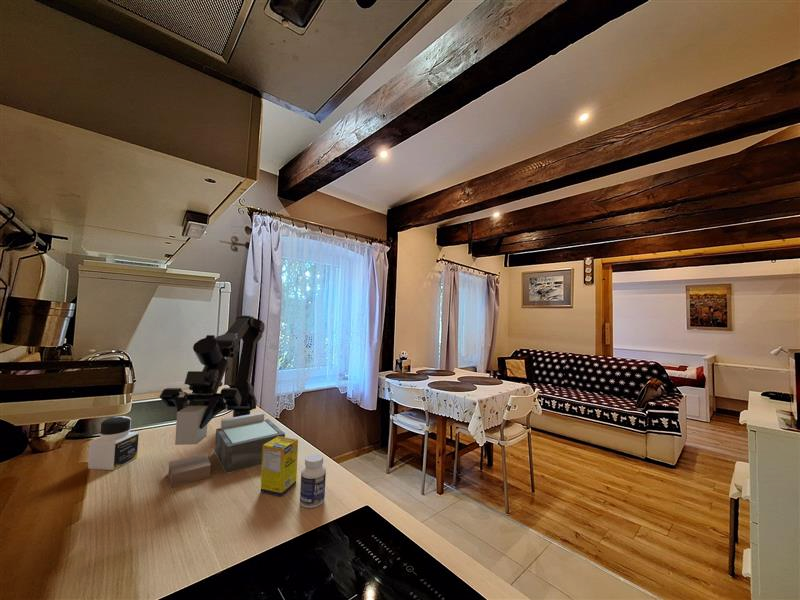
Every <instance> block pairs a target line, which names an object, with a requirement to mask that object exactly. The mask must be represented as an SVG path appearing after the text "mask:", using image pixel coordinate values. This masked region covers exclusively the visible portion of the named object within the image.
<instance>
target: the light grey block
mask: <svg viewBox="0 0 800 600" xmlns="http://www.w3.org/2000/svg"><path fill="white" fill-rule="evenodd" d="M207 408H208V405H189V406H187V407H185V408H184V409H182V410H180V411H178V412H177V411H176V421H175V422H176V423H175V425H176V426H175V427H176V428H175V439H174V445H175V446H176V445H177V446H179V445H180V446H183V445H184V446H185V445H186V446H187V445H189V446H191V445H198V444H199V443H200V442H202V441H203V440H204V439H205V438H206V437H208V436H207V434H208V424H207V425H206V426H205V427H204V428H203V429H200V424H201V421H202V418H203V416H204V414H205V412H206V410H207Z"/></svg>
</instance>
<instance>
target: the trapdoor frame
mask: <svg viewBox="0 0 800 600" xmlns="http://www.w3.org/2000/svg"><path fill="white" fill-rule="evenodd" d="M264 421H265V422H266V423H268V424H269V425H270V426H271V427H272V428H273V429H274V430H275V431H276V432H278V434H273V435H269V436H264V437H260V438H255V439H251V440H246V441H242V442H238V443H233V444H231V442H230V441H229V439H228V438H227V436H226V435H225V433H224V432H223V431H222V429H221V427H218V428H215V445H214V454H215V456H216V457H217V460H218V461H219V463H220V465H221V467H222V469H223V471H224V473H225V474H230V473H233V472H237V471H240V470H244V469H247V468H248V469H249V468H251V467H255V466H258V464H259V465H262V447H263V445H264V444H266V443H267V442H269V441H271V440H273V439H275V438H276V437H278V436H280V437H286V433H285V432H284V431H283V430H281V428H280V427H278V426H277V425H276V424H275V423H274V422H273V421H271V419H269V418H267V419H264Z"/></svg>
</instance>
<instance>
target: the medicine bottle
mask: <svg viewBox="0 0 800 600" xmlns="http://www.w3.org/2000/svg"><path fill="white" fill-rule="evenodd" d="M131 423H132V418H131V417H129V416H125V415H122V416H121V415H119V416H113V417H109V418H106V419H105V420H103V421H102V422H100V432H99V435H100V437H98V438H95V439H93V440H90V441H89V449H88V450H89V451H88V462H87V469H88V470H101V471H102V470H105V471H106V470H108V471H115V470H117V469H119V468H121V467H122V466H125V465H126V464H128V463H130V462H133V461H134V460H136V459H137V458H138V452H139V451H138V449H139V432H137V431H136V432H133V431H131V428H132V426H131Z"/></svg>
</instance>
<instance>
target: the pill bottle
mask: <svg viewBox="0 0 800 600" xmlns="http://www.w3.org/2000/svg"><path fill="white" fill-rule="evenodd" d="M304 459H305V460H304V466H303V467H302V469H301V472H300V492H299V503H300V505H301V507H303V508H306V509H314V508H318V507H319V506H322V504H323V503H324V502H325V495H326V479H327V476H326V475H327V468H326V466H325V465H324V456H323V455H322V454H319V453H313V454H309V455H307V456H306V457H305V458H304Z"/></svg>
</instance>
